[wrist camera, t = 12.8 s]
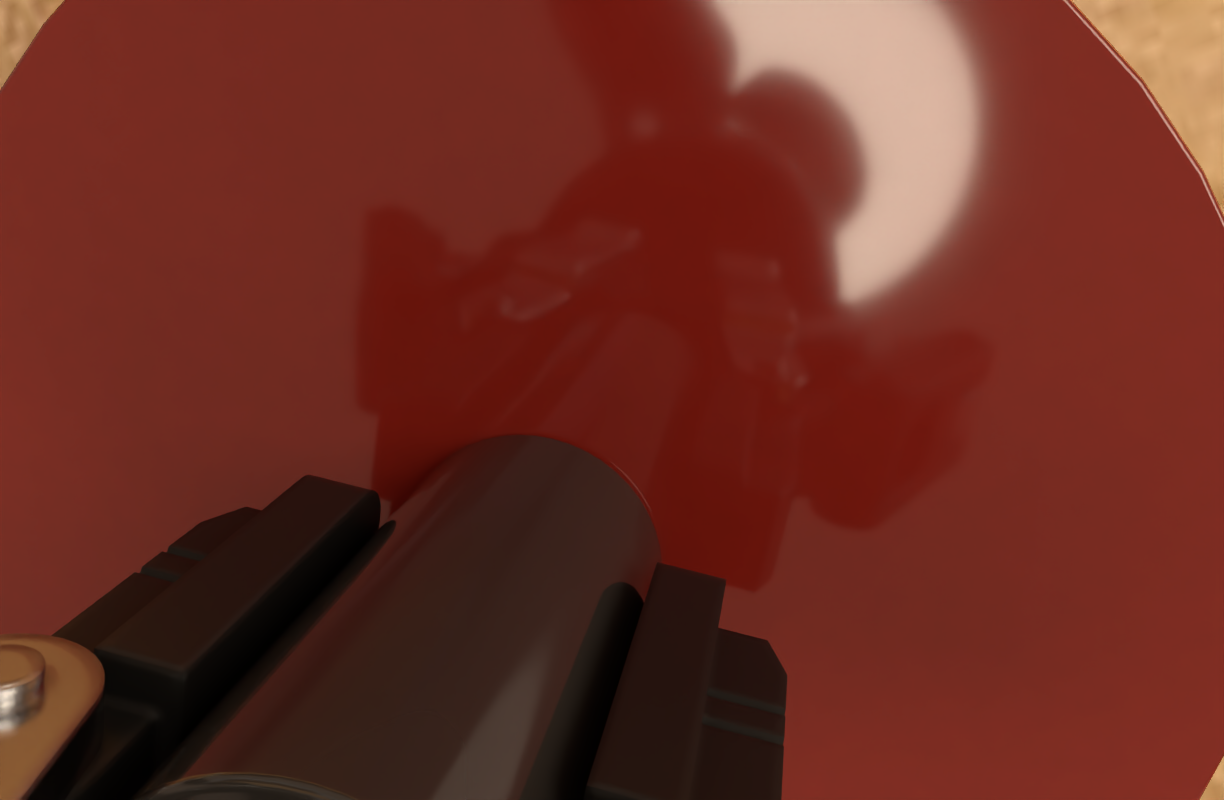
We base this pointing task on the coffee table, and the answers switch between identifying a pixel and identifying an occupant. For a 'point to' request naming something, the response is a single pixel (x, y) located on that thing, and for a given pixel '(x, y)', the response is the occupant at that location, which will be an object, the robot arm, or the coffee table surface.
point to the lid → (632, 377)
